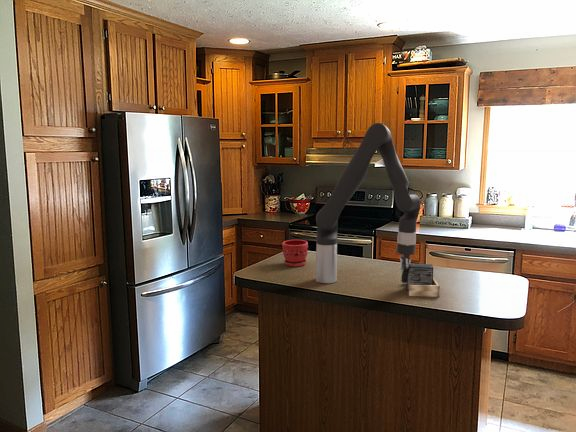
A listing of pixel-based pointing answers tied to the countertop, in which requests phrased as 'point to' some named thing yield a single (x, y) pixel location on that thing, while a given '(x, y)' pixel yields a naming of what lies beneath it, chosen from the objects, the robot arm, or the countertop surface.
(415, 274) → the small box
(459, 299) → the countertop surface
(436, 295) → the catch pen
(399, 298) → the countertop surface
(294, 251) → the plant pot
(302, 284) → the countertop surface
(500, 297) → the countertop surface
